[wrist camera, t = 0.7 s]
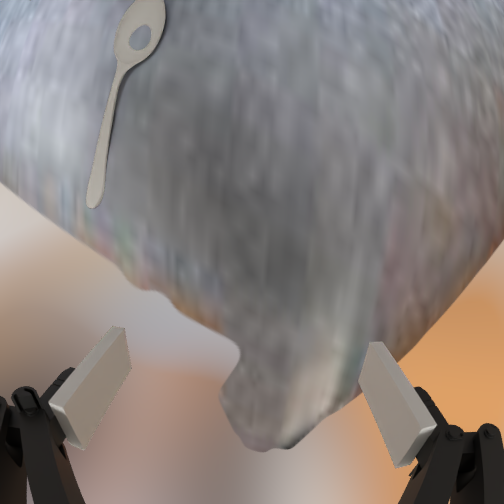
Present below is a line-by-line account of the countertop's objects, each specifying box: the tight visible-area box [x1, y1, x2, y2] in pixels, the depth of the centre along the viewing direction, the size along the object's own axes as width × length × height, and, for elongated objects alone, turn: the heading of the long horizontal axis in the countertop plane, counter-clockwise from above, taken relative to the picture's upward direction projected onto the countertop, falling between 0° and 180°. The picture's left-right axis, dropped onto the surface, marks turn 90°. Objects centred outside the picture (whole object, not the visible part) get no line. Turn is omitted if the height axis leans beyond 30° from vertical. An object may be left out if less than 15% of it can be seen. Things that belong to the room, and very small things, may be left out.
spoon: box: [86, 0, 166, 209], centre depth 33 cm, size 35×8×3 cm, turn 156°
